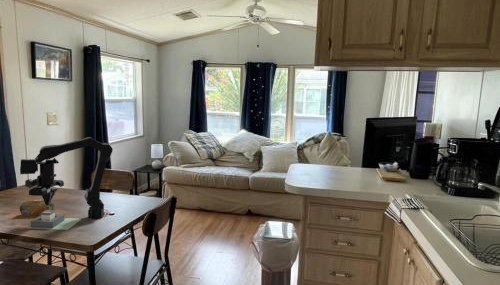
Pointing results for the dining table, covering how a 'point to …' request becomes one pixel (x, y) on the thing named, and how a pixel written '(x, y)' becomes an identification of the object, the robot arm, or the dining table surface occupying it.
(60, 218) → the grey flat square frame
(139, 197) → the dining table surface
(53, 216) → the plug
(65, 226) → the circuit board
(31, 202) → the tin
